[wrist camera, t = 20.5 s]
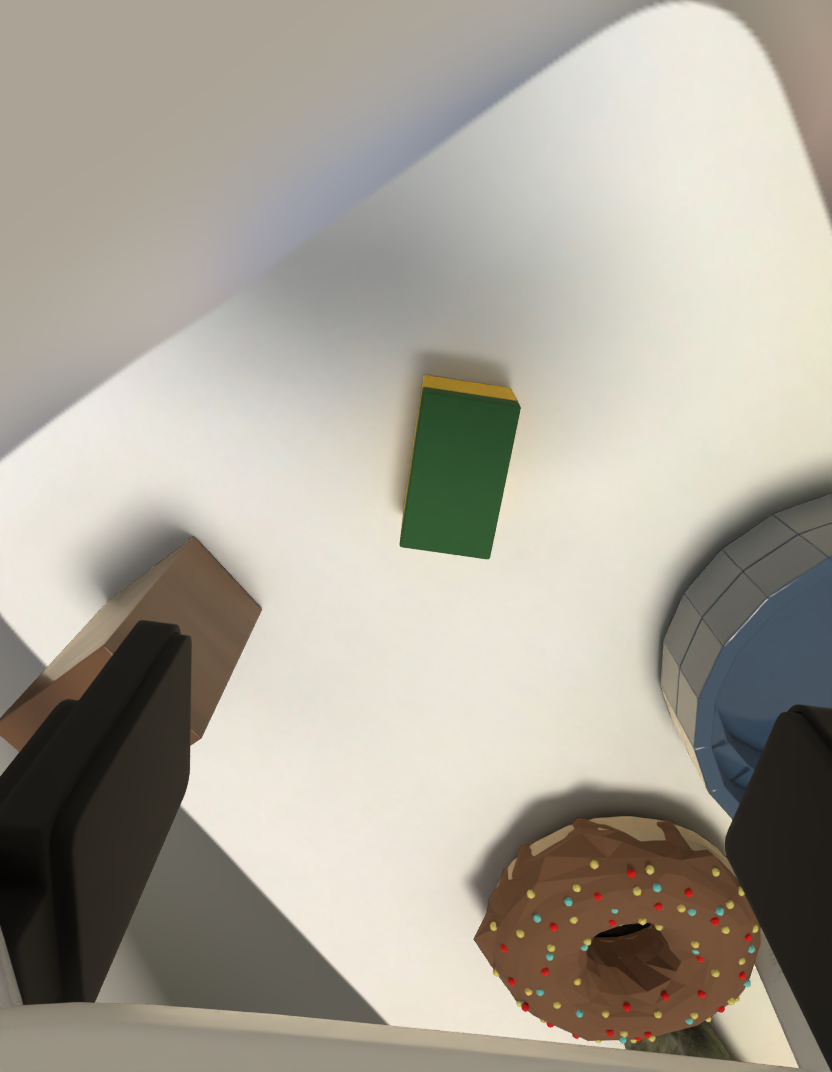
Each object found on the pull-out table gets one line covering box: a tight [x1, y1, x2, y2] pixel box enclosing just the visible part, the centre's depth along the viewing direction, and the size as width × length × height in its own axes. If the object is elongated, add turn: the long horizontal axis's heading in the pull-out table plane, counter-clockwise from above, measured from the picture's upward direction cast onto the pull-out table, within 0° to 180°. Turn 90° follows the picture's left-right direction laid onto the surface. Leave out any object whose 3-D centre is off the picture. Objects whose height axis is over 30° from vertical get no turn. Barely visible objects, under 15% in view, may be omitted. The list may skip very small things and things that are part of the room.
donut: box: [474, 816, 761, 1043], centre depth 35 cm, size 14×14×5 cm
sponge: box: [400, 375, 521, 559], centre depth 27 cm, size 6×4×4 cm, turn 172°
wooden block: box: [0, 537, 262, 752], centre depth 27 cm, size 6×4×9 cm
